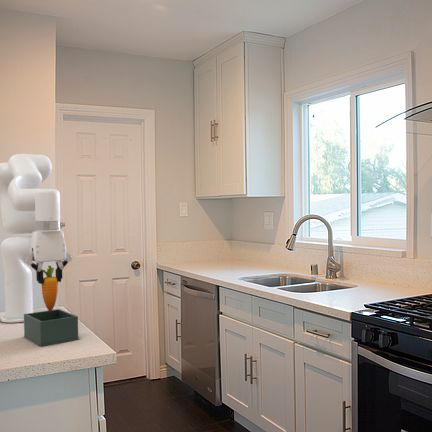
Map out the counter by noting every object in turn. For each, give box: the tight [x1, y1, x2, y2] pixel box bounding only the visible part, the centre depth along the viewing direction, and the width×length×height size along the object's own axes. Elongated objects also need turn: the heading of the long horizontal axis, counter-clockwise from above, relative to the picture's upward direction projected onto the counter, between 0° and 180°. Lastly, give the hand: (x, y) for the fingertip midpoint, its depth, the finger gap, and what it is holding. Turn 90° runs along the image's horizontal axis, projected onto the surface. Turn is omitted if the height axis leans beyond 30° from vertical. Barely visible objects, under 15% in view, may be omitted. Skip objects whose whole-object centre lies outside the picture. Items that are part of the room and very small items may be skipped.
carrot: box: [41, 265, 59, 312], centre depth 176 cm, size 5×5×15 cm
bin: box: [23, 308, 79, 347], centre depth 177 cm, size 17×12×8 cm
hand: (49, 281), depth 176 cm, fingers closed on carrot, 4 cm apart
